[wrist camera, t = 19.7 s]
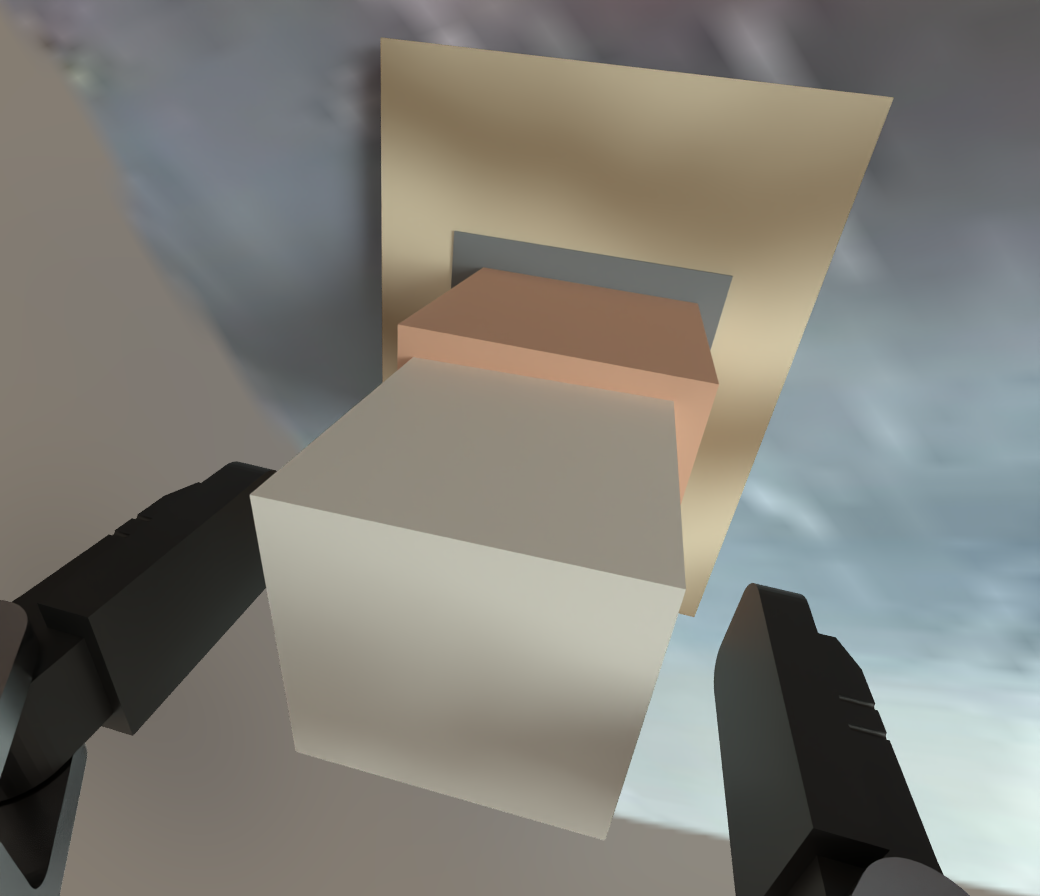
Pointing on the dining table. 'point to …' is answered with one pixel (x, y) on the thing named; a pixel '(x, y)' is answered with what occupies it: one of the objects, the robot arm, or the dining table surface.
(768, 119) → the beige rectangular frame
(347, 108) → the dining table surface
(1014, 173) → the dining table surface
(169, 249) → the dining table surface
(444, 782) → the white cube
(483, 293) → the terracotta cube
